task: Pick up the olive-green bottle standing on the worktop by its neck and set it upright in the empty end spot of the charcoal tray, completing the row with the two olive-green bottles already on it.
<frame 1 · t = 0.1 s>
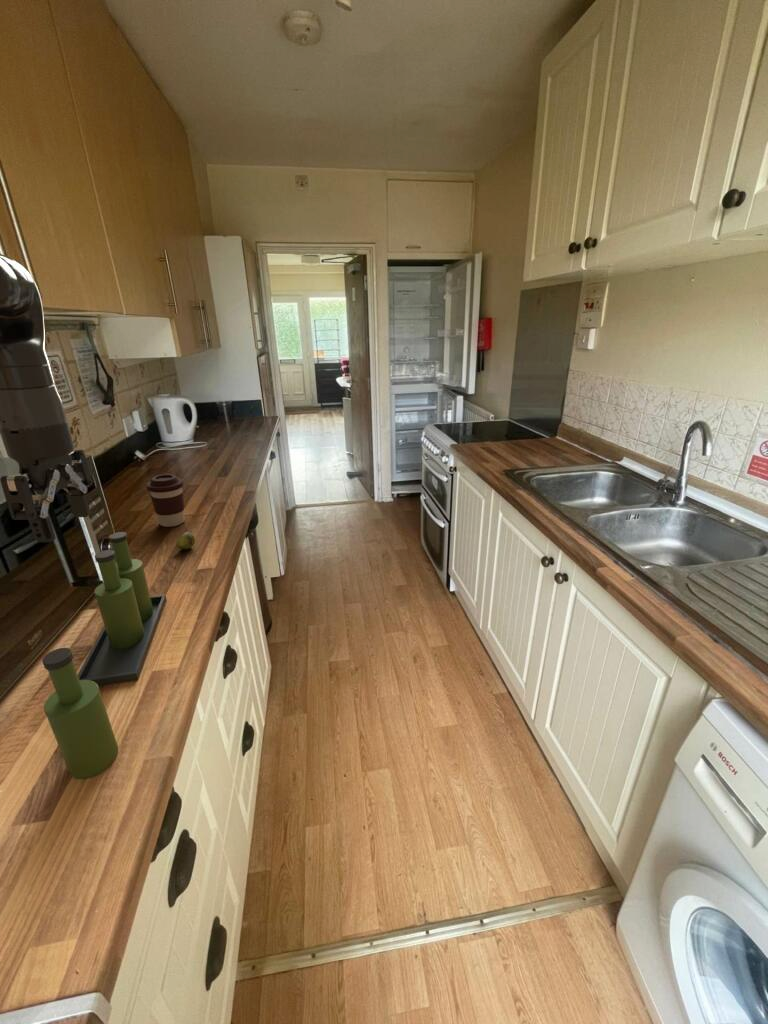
hand: (65, 528, 64), 29 cm above the table, tool pointing down, fingers open, 8 cm apart
bottle mid: (127, 638, 84), point 1 cm above the table, touching tray
bottle far: (137, 615, 91), point 1 cm above the table, touching tray
coffee cup: (172, 523, 134), on the table
tray: (128, 640, 84), on the table
lime: (187, 549, 119), on the table
bottle loose: (94, 758, 61), on the table
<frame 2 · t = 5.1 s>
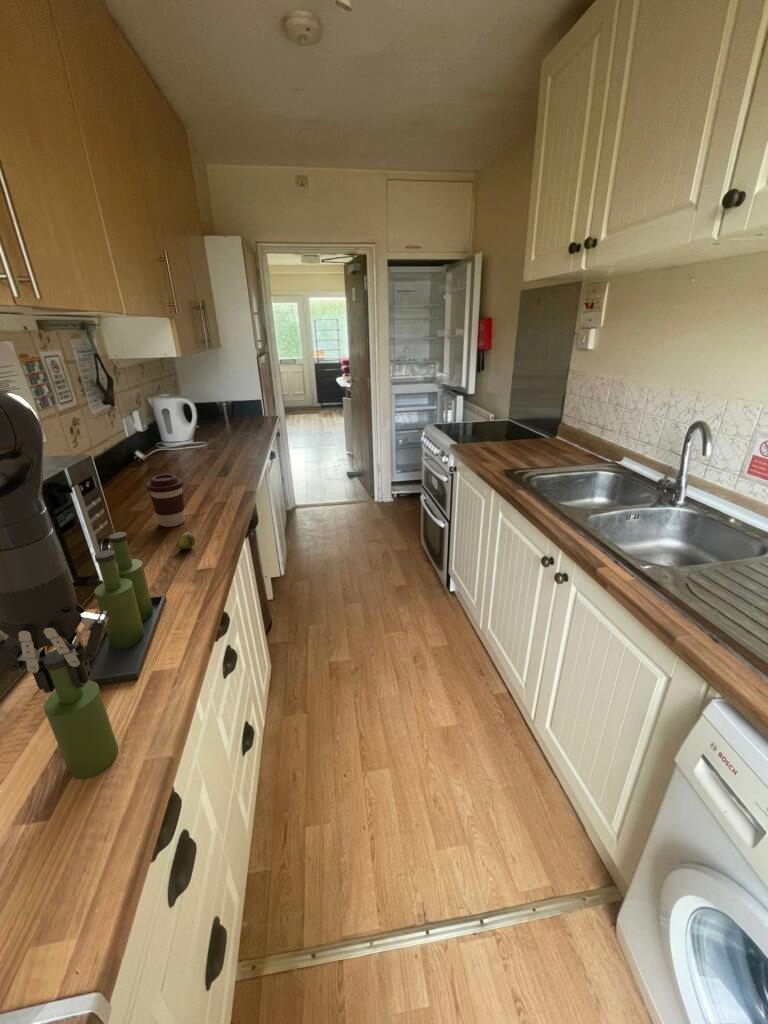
hand: (67, 684, 56), 14 cm above the table, tool pointing down, fingers closed on bottle loose, 3 cm apart
bottle loose: (94, 758, 61), on the table, touching gripper
everything else where it was.
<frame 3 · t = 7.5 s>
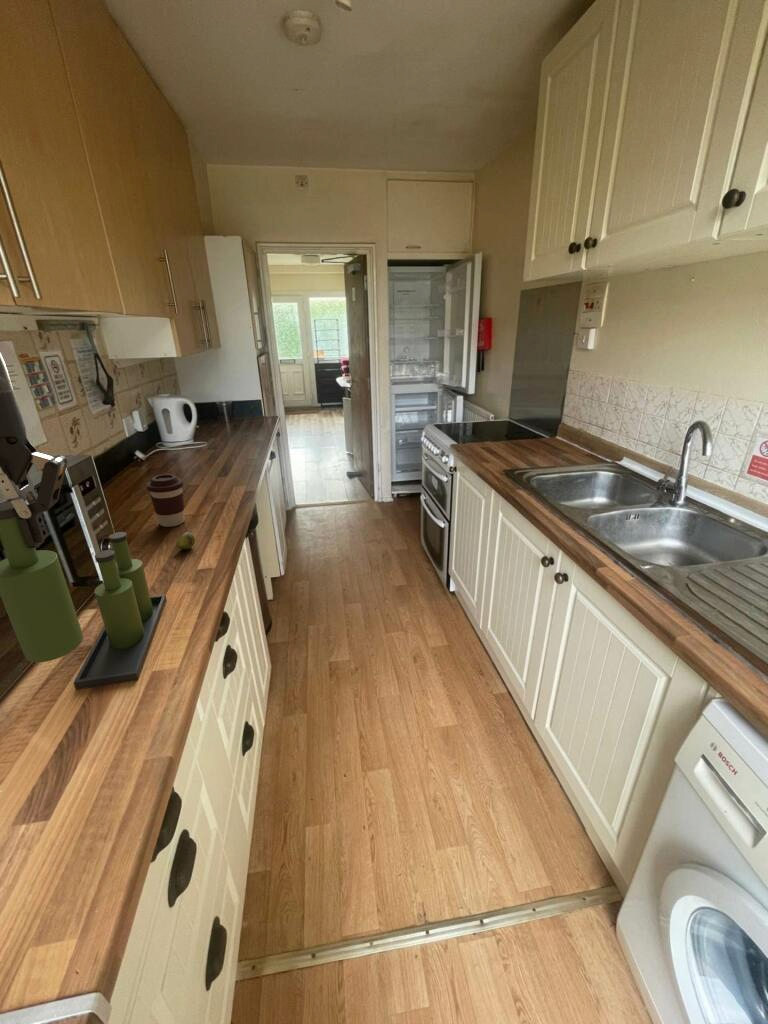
hand: (18, 545, 48), 34 cm above the table, tool pointing down, fingers closed on bottle loose, 3 cm apart
bottle loose: (55, 645, 54), point 20 cm above the table, touching gripper
everything else where it was.
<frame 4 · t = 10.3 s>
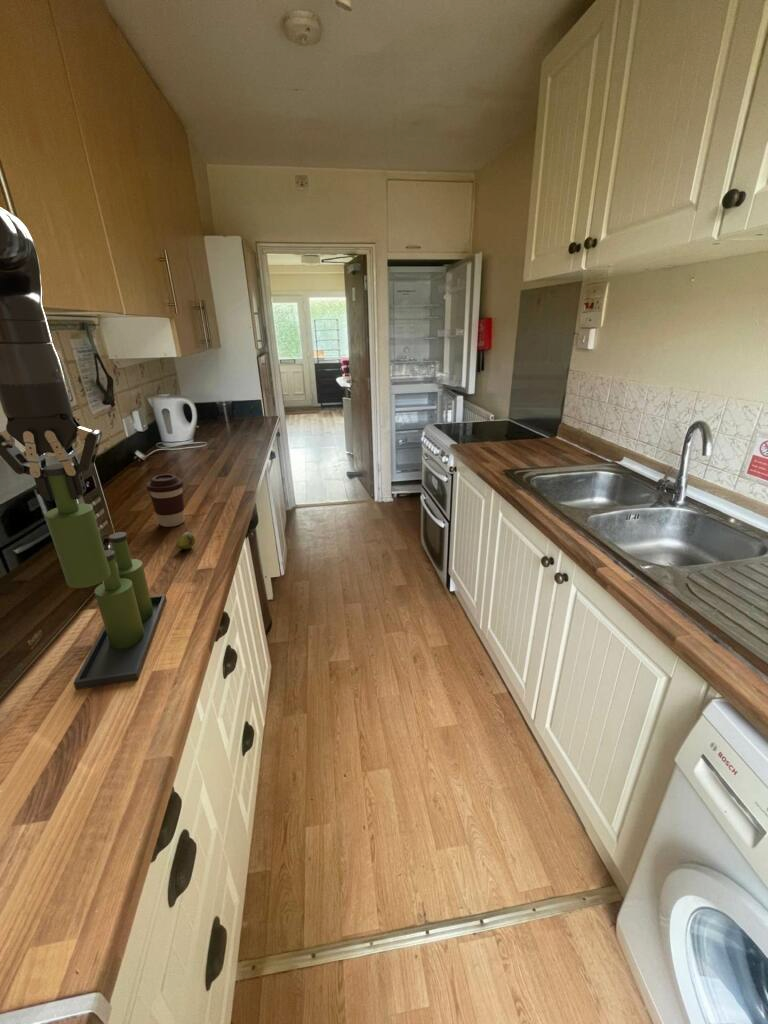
hand: (64, 497, 64), 33 cm above the table, tool pointing down, fingers closed on bottle loose, 3 cm apart
bottle loose: (89, 578, 70), point 19 cm above the table, touching gripper
everything else where it was.
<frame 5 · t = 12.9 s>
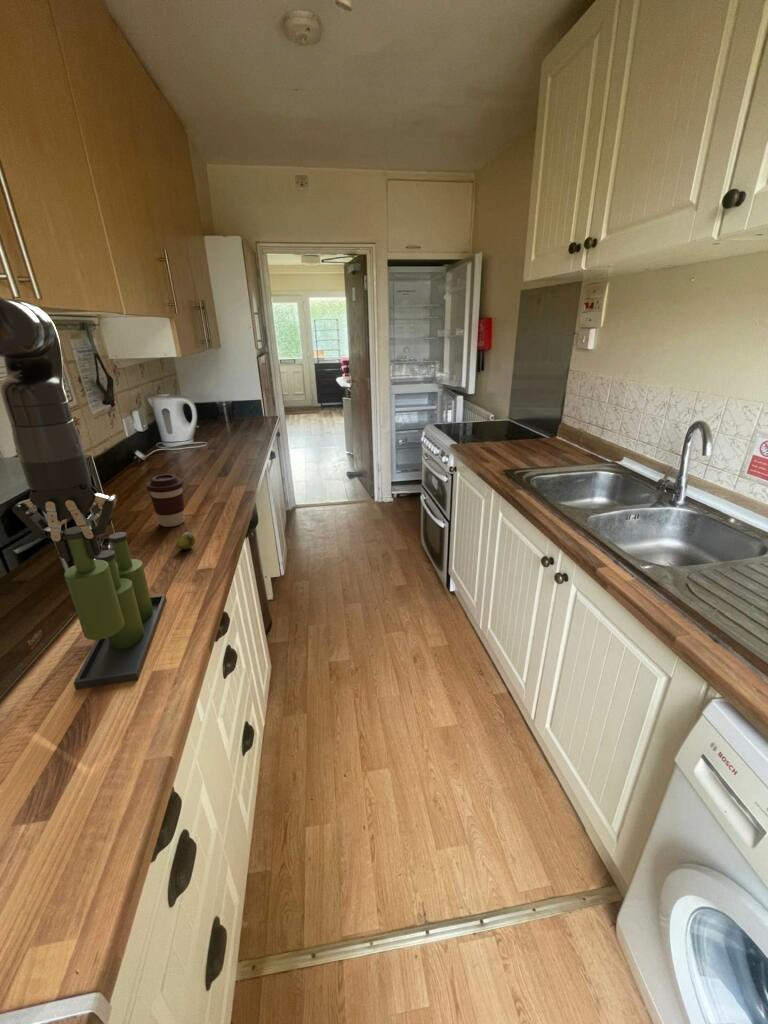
hand: (82, 557, 68), 23 cm above the table, tool pointing down, fingers closed on bottle loose, 3 cm apart
bottle loose: (104, 628, 74), point 9 cm above the table, touching gripper
everything else where it was.
when the fingers open (15 cm above the table, at t = 15.4 s): bottle loose stays where it is, resting on tray.
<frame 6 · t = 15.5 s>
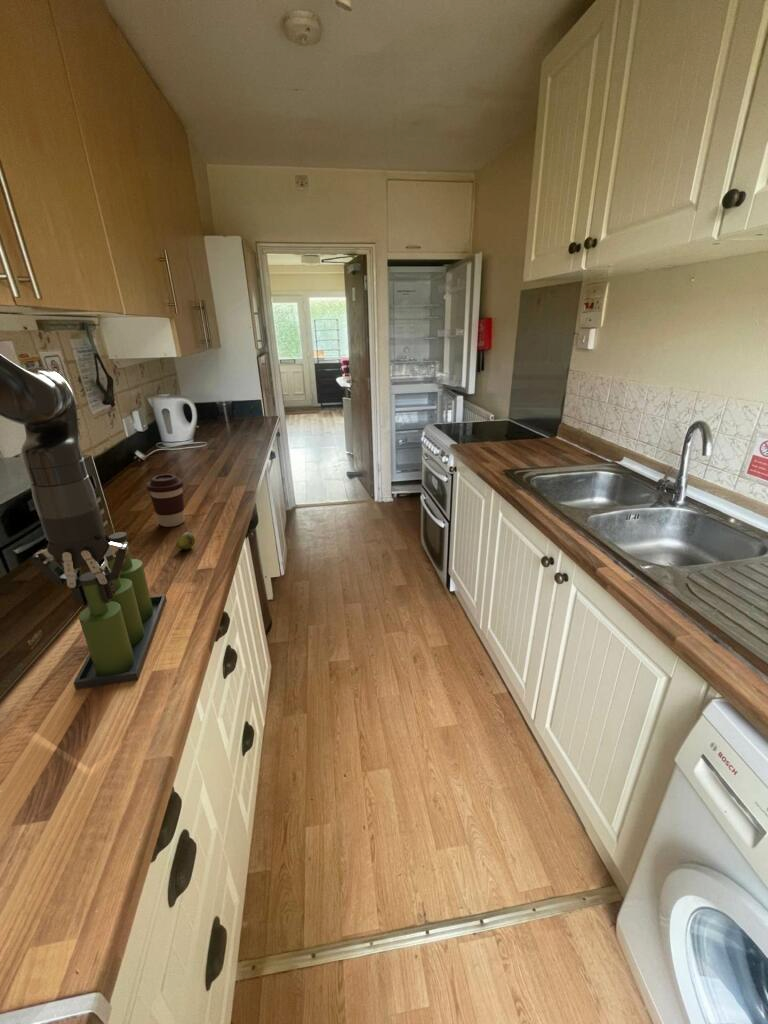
hand: (96, 601, 72), 15 cm above the table, tool pointing down, fingers open, 3 cm apart
bottle loose: (115, 665, 77), point 1 cm above the table, touching tray
everything else where it was.
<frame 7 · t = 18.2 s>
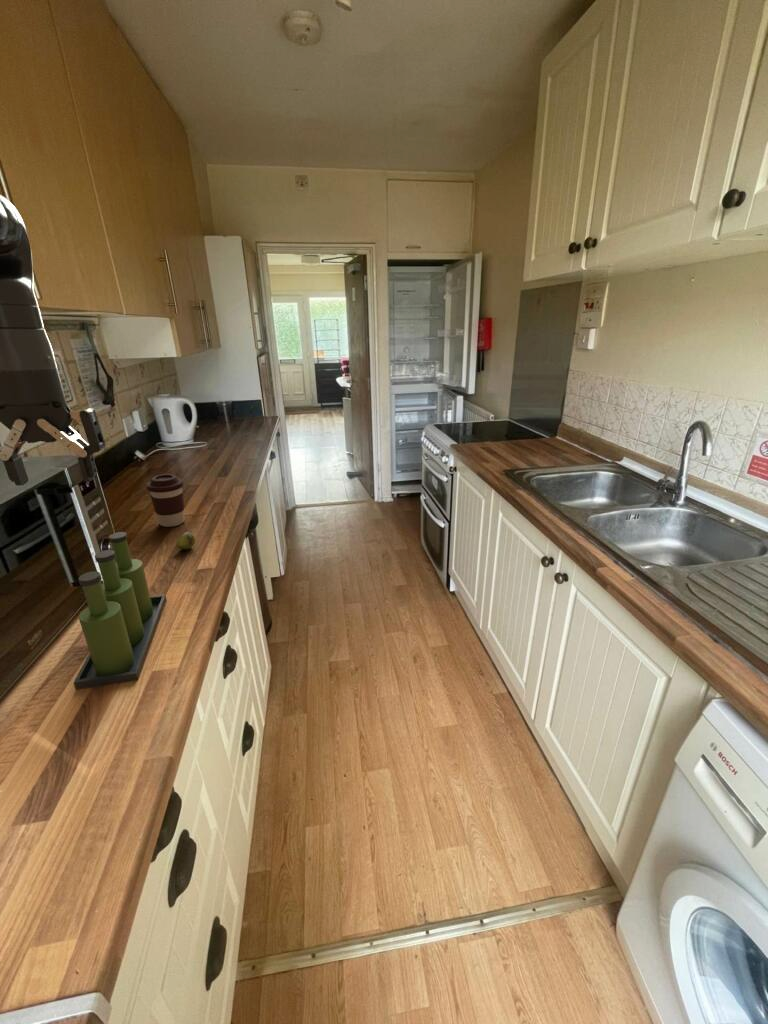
hand: (56, 481, 62), 36 cm above the table, tool pointing down, fingers open, 8 cm apart
nothing on the table moved.
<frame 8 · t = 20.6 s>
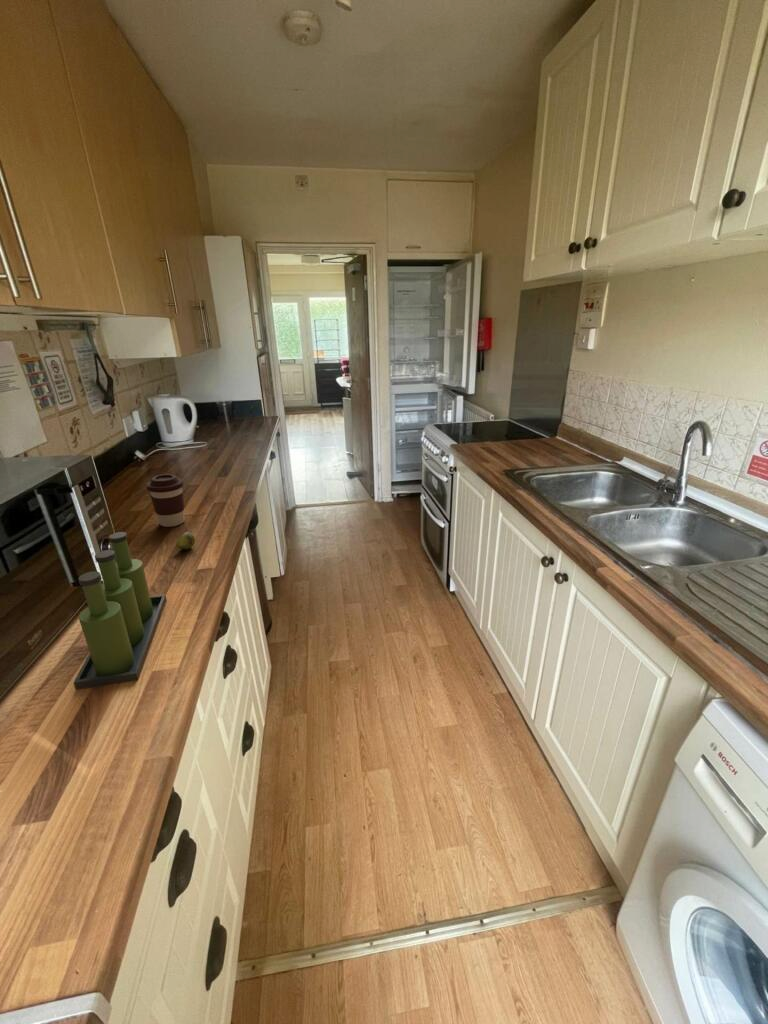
nothing on the table moved.
at the end: bottle loose 0.0 cm from the target spot in the tray, point 0.6 cm above the tray's base; bottle loose tilted 0°; bottle mid moved 0.0 cm from its start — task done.
